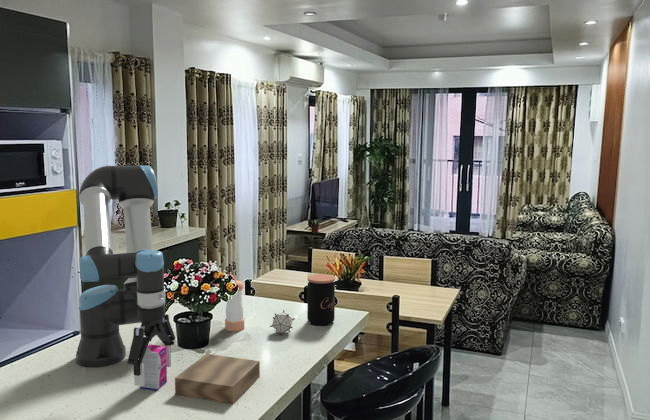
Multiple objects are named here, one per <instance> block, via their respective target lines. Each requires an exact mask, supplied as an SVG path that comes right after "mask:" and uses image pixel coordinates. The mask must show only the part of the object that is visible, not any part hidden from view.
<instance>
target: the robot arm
mask: <svg viewBox="0 0 650 420" xmlns="http://www.w3.org/2000/svg"><path fill="white" fill-rule="evenodd" d="M155 174H156V173H155V171H154V170H153V168H152V167H151V166H149V165H140V164H137V165H103V166H100V167H98V168H96V169H94V170H92V171H91V172H90V173H88V174H87V176H86V177H85V179H84V180H83V181H82V183H81V185H80V187H79V188H80V189H79V193H78V194H79V202H80V204H81V205H82V207H83V208H82V209H83V223H84V225H83V226H84V240H85V241H84V243H85V255H82V256H80V257H79V264H78V265H79V278H80V281H81V282H84V283H90V282H92V283H93V282H94V283H95V282H101V281H102V282H104V281H113V280H123V279H124V280H125V279H126V280H125V281H124V283H123V289H121V288H120V289H119V288H118V286H117V285H115V284H103V285H98V286H95V287H91V288H88V289H86V290H85V291H83V292H81V294H80V296H79V298H78V299H79V300H78V301H79V304H78V305H79V306H78V310H79V323H80V324H79V327H80V340H79V342H78V347H77V350H76V354H75V360H76V361H75V362H76V364H78V365H79V366H82V367H88V368H97V367H105V366H109V365H114V364H115V363H116V364H117V363H118V362H120V361H122V360H123V359H125V357H126V355H127V353H126V352H127V350H126V346H125V344H124V341H123V339H122V337H121V333H120V326H124V325H125V326H126V325H132V324H140V327H134V328H133V336H132V341H131V345H130V349H129V353H128V358H127V364H128V365H132V366H133V367H132V368H133V376H134V377H133V378H134V386H139V387H140V386H144V385H145V383H144V363H142V360H143V358H144V355H145V352H146V349H147V347H148V345H149V344H150V342H151V341H152V339H153V338H154V337H156V336H157V337H158V338H159V340H160V341H161V343H163V344H161V345H160V346H167V368H171V367H172V346H174V345H175V340H176V335H175V333H174V331H173V328H172V325H171V322H170V317H169V314H167V313H166V296H167V294H165V292H166V286H165V283H164V282H165V280H164V279H165V277H164V275H165V271H164V269H165V268H164V265H165V261H164V254H163V252H162V251H160V250H157V249H154V248H153V246H154V245H153V235H152V234H153V233H152V221H151V218H152V217H151V209H150V208H151V206H153V204H154V202H155V199H157V198H158V195H159V193H158V192H159V191H158V183H157V178H156V175H155ZM111 200H114V201H117V200H118V206H119V207H120V208H122V209H123V218H124V234H125V249H126V252H124V253H123V252H122V253H114V250H113V249H114V248H113V239H112V230H111V219H110V216H111V215H110V209H109V208H110V207H109V204H110V202H111ZM164 289H165V291H164Z"/></svg>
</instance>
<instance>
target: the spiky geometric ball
mask: <svg viewBox="0 0 650 420" xmlns="http://www.w3.org/2000/svg"><path fill="white" fill-rule="evenodd" d="M272 319H273V321H272V324H271V325H270V326H269V328H273V329H275V332H278V333H279V335H280V336H282V335H283V334H284V333H286V332H291V330H290V329H293V326H292V325H293V321H294V320H295V318H294V317H293V318H292V317H291V316H290V314H289V313H286V312H285V309H283V310H282V312H280V313H274V317H272Z"/></svg>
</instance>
